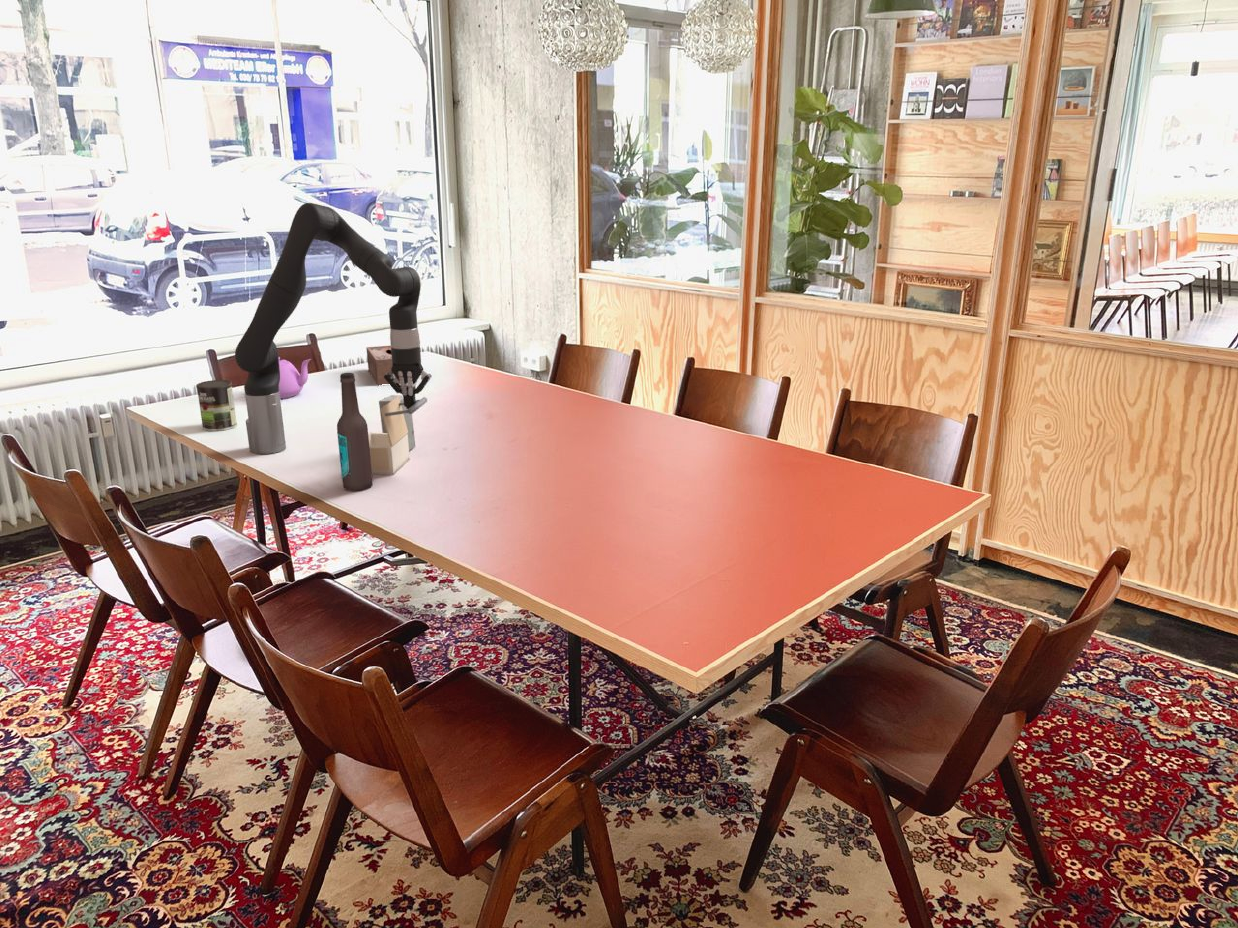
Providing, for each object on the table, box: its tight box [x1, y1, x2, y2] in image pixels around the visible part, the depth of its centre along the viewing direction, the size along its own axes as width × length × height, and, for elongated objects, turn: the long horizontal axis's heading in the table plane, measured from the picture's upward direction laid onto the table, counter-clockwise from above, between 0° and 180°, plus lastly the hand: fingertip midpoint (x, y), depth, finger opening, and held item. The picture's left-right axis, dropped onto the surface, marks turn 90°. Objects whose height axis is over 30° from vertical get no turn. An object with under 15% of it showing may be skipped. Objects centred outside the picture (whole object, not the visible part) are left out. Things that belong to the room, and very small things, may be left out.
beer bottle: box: [336, 372, 374, 492], centre depth 236 cm, size 8×8×30 cm
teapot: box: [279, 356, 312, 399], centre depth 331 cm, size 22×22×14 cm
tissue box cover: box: [366, 345, 418, 386], centre depth 358 cm, size 26×14×10 cm, turn 22°
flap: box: [381, 396, 428, 446], centre depth 251 cm, size 10×13×8 cm
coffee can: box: [195, 379, 238, 432], centre depth 292 cm, size 10×10×14 cm
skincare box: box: [378, 394, 416, 452], centre depth 268 cm, size 8×7×16 cm
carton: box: [368, 432, 411, 476], centre depth 255 cm, size 11×14×8 cm
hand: (410, 408), depth 250 cm, fingers closed
